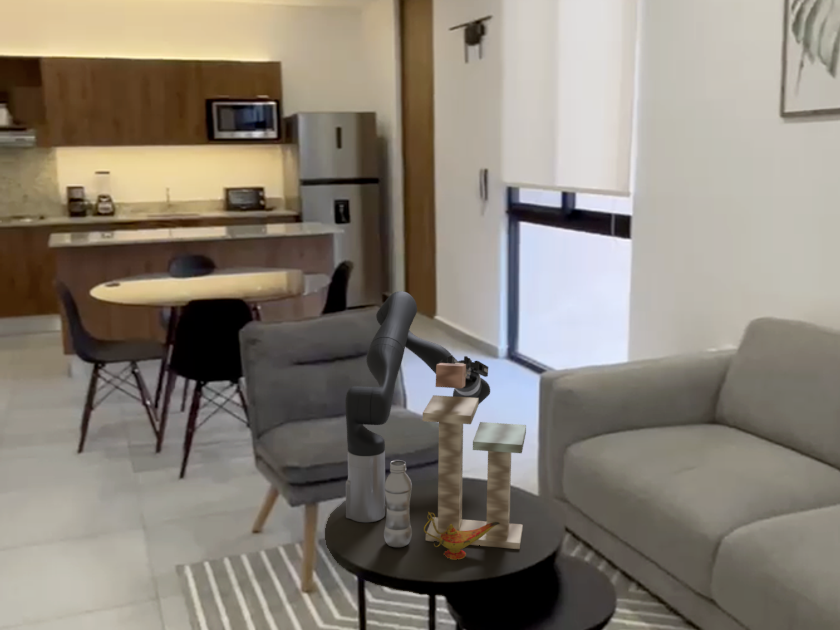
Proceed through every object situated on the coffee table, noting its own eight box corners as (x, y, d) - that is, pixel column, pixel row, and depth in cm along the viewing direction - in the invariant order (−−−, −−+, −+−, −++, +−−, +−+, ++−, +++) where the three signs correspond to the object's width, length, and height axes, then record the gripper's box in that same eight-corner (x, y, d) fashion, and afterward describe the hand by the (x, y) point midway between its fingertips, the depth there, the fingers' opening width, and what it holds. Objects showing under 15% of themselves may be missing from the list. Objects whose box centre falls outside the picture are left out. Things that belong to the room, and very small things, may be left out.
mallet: (435, 386, 193) (436, 364, 193) (449, 378, 214) (450, 358, 214) (461, 388, 192) (462, 366, 191) (473, 379, 213) (474, 359, 213)
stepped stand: (421, 544, 198) (422, 412, 192) (432, 518, 212) (433, 395, 206) (518, 553, 194) (522, 419, 188) (523, 526, 208) (526, 400, 201)
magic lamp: (504, 556, 193) (505, 511, 190) (426, 564, 189) (427, 518, 187) (494, 543, 199) (496, 498, 197) (420, 550, 195) (420, 505, 193)
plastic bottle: (379, 547, 196) (378, 466, 193) (391, 535, 203) (391, 456, 199) (405, 553, 194) (405, 470, 190) (416, 540, 200) (416, 460, 196)
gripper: (491, 393, 220) (485, 376, 203) (437, 390, 222) (427, 372, 206) (493, 365, 222) (488, 346, 206) (440, 363, 224) (430, 343, 208)
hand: (457, 359), depth 206 cm, fingers closed on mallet, 3 cm apart
